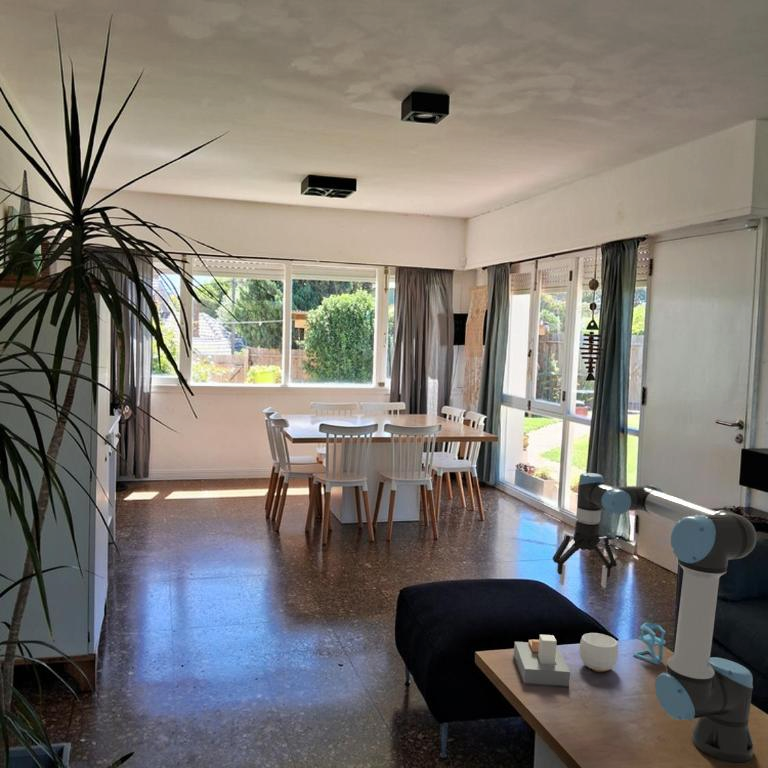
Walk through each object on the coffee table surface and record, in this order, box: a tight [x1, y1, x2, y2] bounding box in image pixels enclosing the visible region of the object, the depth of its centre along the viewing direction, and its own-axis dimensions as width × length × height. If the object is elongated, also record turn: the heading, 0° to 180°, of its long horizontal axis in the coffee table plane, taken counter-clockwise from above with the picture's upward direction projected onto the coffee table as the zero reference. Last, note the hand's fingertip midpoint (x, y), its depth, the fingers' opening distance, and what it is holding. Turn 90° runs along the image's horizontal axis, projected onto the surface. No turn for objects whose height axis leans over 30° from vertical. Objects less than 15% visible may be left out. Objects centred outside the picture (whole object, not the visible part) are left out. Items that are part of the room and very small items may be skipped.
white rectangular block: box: [538, 634, 558, 665], centre depth 232 cm, size 4×4×12 cm
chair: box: [633, 622, 667, 665], centre depth 250 cm, size 8×8×12 cm
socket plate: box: [513, 641, 571, 688], centre depth 236 cm, size 20×14×5 cm
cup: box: [579, 632, 619, 673], centre depth 240 cm, size 12×12×10 cm
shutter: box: [528, 638, 539, 652], centre depth 241 cm, size 7×7×4 cm
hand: (582, 585), depth 236 cm, fingers open, 13 cm apart
